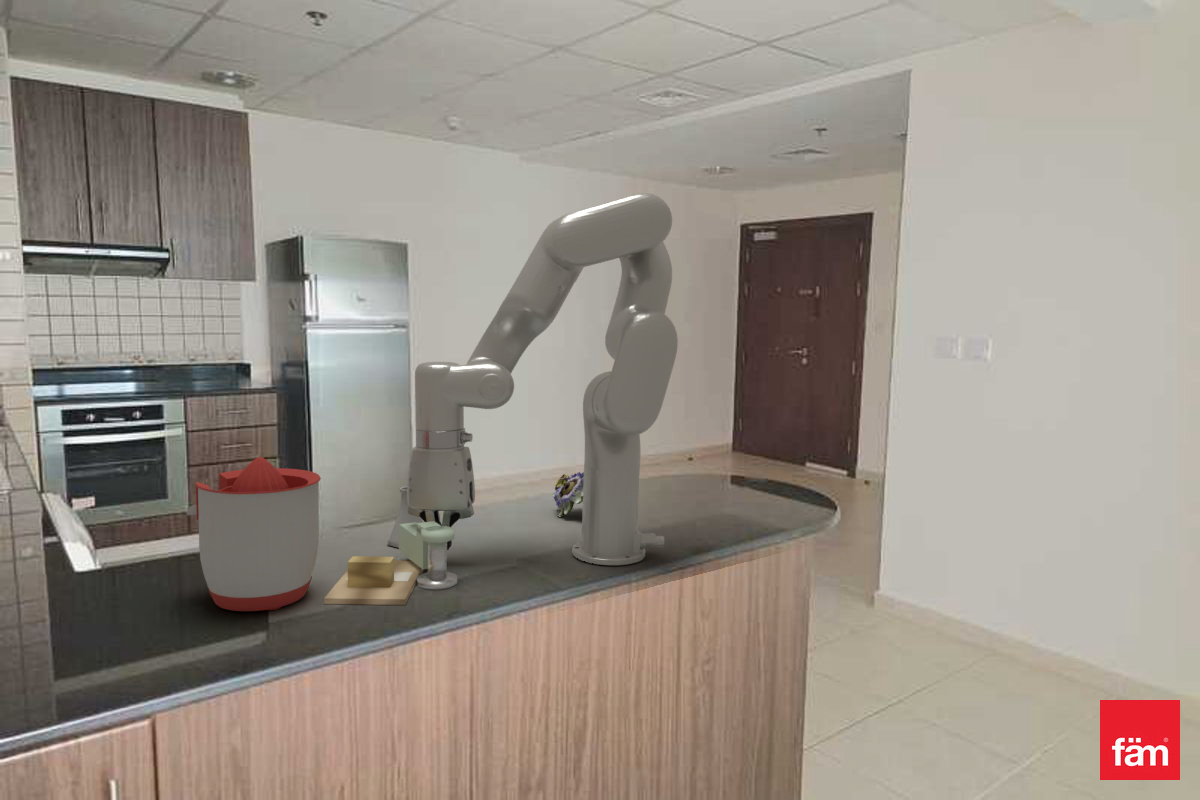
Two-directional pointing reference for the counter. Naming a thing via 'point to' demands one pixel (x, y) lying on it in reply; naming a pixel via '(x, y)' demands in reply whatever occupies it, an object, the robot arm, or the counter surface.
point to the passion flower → (568, 492)
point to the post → (437, 569)
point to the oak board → (376, 592)
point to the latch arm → (422, 540)
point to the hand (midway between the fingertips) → (441, 551)
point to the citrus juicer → (258, 535)
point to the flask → (402, 518)
